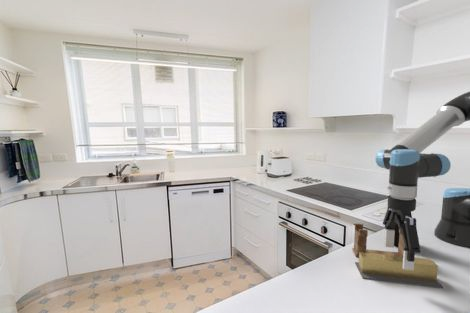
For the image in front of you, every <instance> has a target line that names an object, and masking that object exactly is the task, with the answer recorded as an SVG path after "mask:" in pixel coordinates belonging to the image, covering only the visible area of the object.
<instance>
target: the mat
mask: <svg viewBox="0 0 470 313" xmlns="http://www.w3.org/2000/svg"><path fill="white" fill-rule="evenodd" d="M354 264H355V266H356V268H357V269H358V272H359V274H360V275H361V279H364V280H373V281H374V280H375V281H380V282H388V283H390V282H391V283H396V284H405V285H414V286H421V287H428V288H429V287H431V288H438V289H444V286H443V285H442V284H441V283H440V282H439V281H438V280H437V281H436V282H435V281H427V280H418V279H410V278H401V277H393V276H384V275H376V274H367V273H362V272H361V270H360V268H359V261H358V262H357V261H354Z"/></svg>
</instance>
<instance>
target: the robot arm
mask: <svg viewBox="0 0 470 313" xmlns="http://www.w3.org/2000/svg"><path fill="white" fill-rule="evenodd" d="M468 121H470V91H467V92H464V93H463V94H461V95H458V96H457V97H454V98H453V99H451V100H449V101H447V102H446V103H445V104H443V105H441V107H439V108H438V109H437V110H436V114H434V115H433V116H432V117H431V118H429V119H428V120H426V122H424V123H423V124H422V125H421V126H419V127H417V129H415V130H414V131H413V132H411V133H410V134H408V135H407V136H406V137H405V138H404V139H402V140H401V141H400V142H398V143H397V144H396V145H394V146H393V147H392V148H391V149H380V150H379V151H378V152H377V153H376V155H375V163H376V166H378V167H379V168H382V169H385V170H389V176H388V177H389V178H388V186H387V187H386V188H387V192H388V196H387V210H386V213H385V215H384V218H383V221H382V225H383V226H384V228H385V229H386V231H385V232H384V234H385V236H384V247H385V248H394V247H395V246H394V235H395V230H392V229H395V226H396V225H397V224H398V227H399V228H400V229H401V232H402V236H403V240H404V244H405V248H404V249H403V250H404V254H403V269H404V270H414V260H415V257H416V253H417V254H418V253H419V254H421V247H420V241H419V235H418V229H417V219H416V217H412V218H410V212H411V213H412V212H414V211H416V207H417V199H416V198H418V196H417V195H418V187H419V186H418V180H419V179H422V178H430V177H434V178H436V177H439V176H444V175H446V174H447V173H448V172H449V171H450V170H451V161H450V159H449V158H448V157H447V156H446V155H445V154H441V153H434V152H433V153H422V152H423V151H425V150H426V149H427V148H428V147H430V146H431V145H432V144H434V143H435V142H436V141H437V140H439V138H441V137H442V136H443V135H445V134H446V133H447V132H448V131H450V130H451V129H453V128H454V127H458V126H461V125H463V124H464V123H465V122H468ZM441 205H442V206H441V213H440V214H441V216H440V220H439V222H438V223H437V225H436V227H435V229H434V236H435V237H436V238H437V239H439V240H441V241H443V242H445V243H448V244H451V245H455V246H460V247H464V248H470V188H468V187H450V188H446V189H445V190H444V192H443V196H442V204H441ZM387 221H388V222H387ZM385 229H384V230H385Z"/></svg>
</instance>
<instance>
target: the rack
mask: <svg viewBox="0 0 470 313" xmlns="http://www.w3.org/2000/svg"><path fill="white" fill-rule="evenodd" d="M368 233H369V232H368V229H364V224H363V223H356V222H355V223H354V241H353V247H352V248H351V250H352V253H353V254H354V256H355V257H356V258H359V252H366V253H376V254H386V255H396V256H403V254H404V250H403V249H404V248H405V244H404V240H403V236H402V232H401V229H400V228H399V233H400V235H399V246H398V247H397V248H398V249H397V251H389V250H375V249H367V241H368V240H367V239H368Z"/></svg>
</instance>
